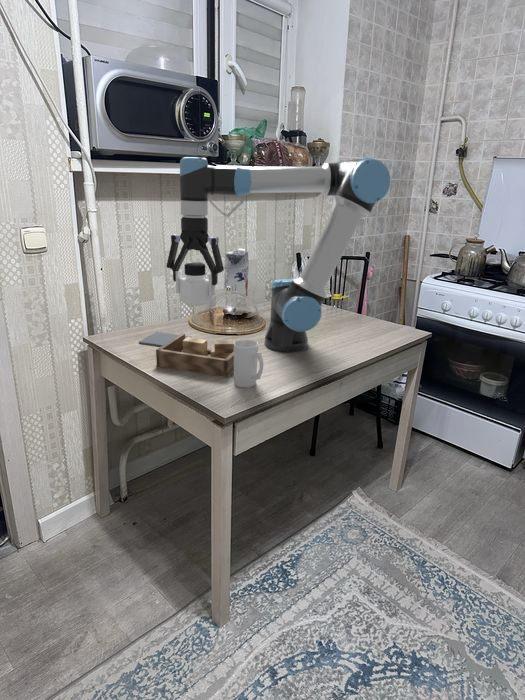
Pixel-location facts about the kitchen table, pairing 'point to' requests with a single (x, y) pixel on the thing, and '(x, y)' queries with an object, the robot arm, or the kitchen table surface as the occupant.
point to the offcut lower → (219, 354)
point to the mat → (159, 339)
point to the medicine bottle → (194, 285)
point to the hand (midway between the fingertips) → (195, 293)
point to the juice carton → (236, 271)
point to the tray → (192, 359)
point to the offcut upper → (224, 346)
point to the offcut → (195, 346)
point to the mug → (246, 363)
